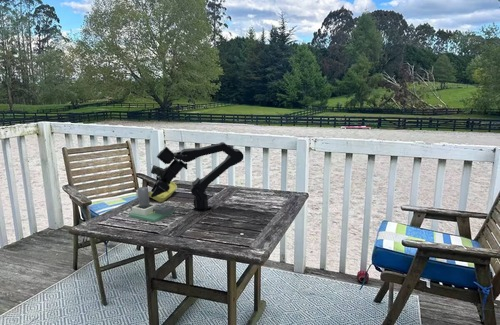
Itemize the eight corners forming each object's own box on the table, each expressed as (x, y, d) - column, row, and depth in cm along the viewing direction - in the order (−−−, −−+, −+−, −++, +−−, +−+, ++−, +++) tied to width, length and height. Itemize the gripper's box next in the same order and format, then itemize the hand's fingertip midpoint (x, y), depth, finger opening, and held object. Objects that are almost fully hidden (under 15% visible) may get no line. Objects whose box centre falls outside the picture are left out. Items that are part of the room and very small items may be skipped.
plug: (150, 209, 184) (148, 186, 181) (150, 212, 179) (148, 189, 176) (138, 210, 182) (136, 187, 180) (138, 214, 178) (135, 190, 175)
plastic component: (162, 198, 196) (147, 190, 198) (158, 209, 199) (143, 200, 201) (179, 185, 214) (165, 177, 216) (176, 196, 217) (161, 188, 219)
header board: (174, 212, 183) (173, 204, 182) (154, 222, 171) (154, 213, 170) (149, 207, 190) (148, 199, 189) (129, 216, 178) (128, 208, 177)
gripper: (159, 155, 186) (139, 178, 186) (159, 164, 168) (137, 189, 168) (176, 169, 189) (156, 192, 189) (178, 179, 172) (156, 203, 172)
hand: (151, 194), depth 180 cm, fingers open, 9 cm apart
